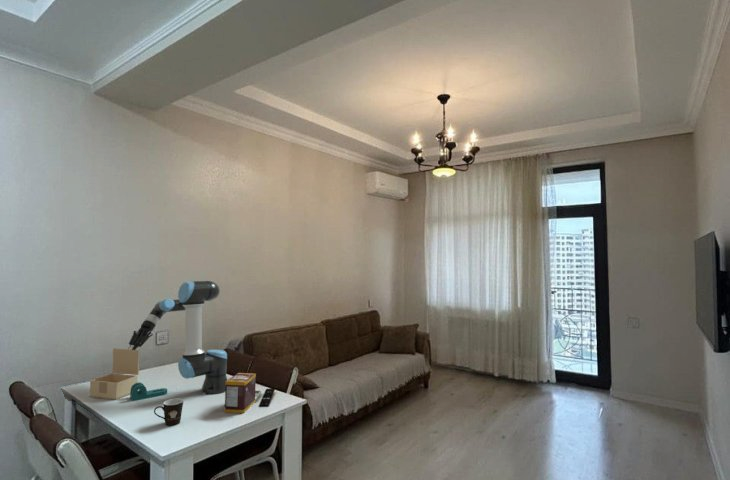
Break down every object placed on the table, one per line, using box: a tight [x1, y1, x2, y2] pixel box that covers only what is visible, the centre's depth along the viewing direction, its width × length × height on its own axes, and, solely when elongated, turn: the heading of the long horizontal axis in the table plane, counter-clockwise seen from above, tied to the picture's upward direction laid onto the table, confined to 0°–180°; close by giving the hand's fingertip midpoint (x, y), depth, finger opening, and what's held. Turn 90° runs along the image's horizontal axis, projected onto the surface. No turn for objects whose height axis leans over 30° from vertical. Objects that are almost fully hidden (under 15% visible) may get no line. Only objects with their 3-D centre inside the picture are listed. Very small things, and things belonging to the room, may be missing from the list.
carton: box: [89, 372, 138, 401], centre depth 219 cm, size 14×18×9 cm
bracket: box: [129, 381, 168, 402], centre depth 217 cm, size 18×7×8 cm, turn 129°
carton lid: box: [112, 347, 140, 376], centre depth 227 cm, size 14×18×1 cm
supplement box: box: [224, 372, 257, 414], centre depth 203 cm, size 10×15×16 cm
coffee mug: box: [153, 398, 184, 427], centre depth 182 cm, size 12×9×10 cm
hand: (127, 355), depth 229 cm, fingers closed
